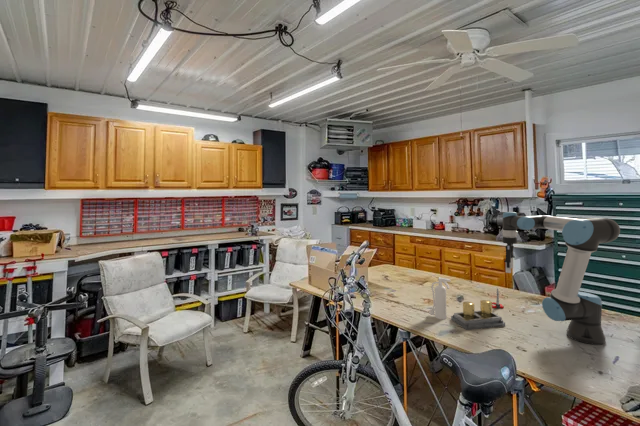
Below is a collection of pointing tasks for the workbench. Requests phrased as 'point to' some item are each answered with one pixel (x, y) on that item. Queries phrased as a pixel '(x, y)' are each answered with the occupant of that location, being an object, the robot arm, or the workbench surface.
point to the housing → (475, 318)
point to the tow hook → (497, 302)
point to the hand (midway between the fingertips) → (509, 270)
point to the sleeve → (486, 308)
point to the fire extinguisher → (439, 299)
